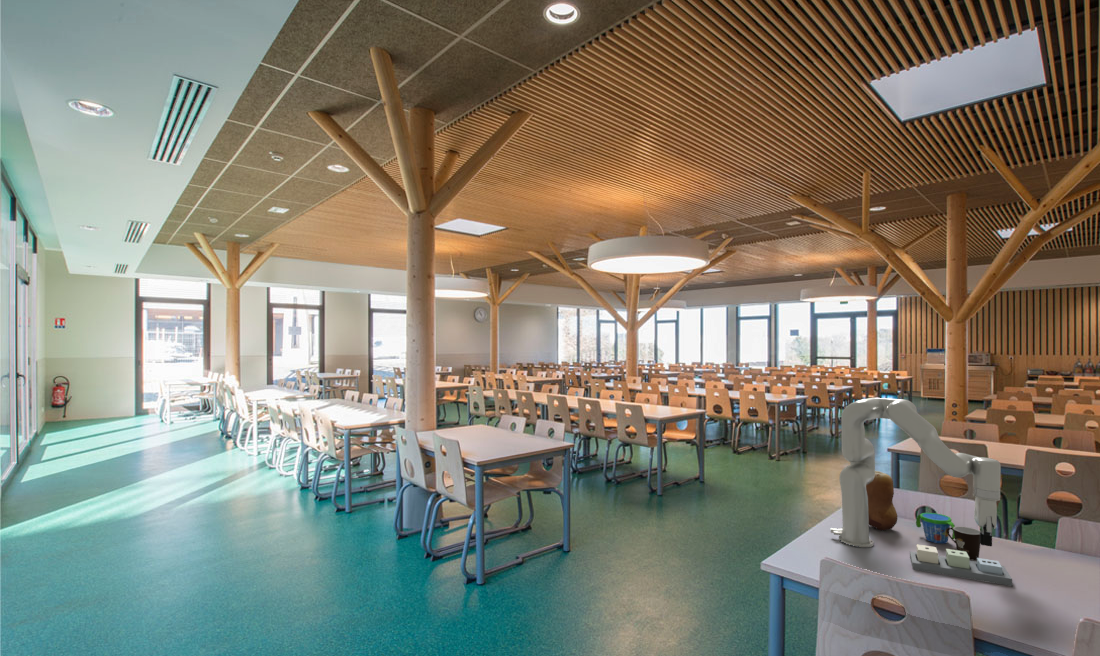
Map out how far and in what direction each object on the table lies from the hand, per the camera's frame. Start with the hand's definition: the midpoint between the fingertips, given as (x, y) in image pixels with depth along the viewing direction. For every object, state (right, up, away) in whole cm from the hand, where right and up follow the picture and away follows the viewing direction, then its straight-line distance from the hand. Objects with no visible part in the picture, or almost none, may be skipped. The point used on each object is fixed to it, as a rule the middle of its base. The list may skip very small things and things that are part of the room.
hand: (985, 544), depth 188 cm
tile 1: (-15, -9, +8) cm, 19 cm away
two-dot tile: (-7, -9, +4) cm, 12 cm away
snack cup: (+6, -12, +32) cm, 34 cm away
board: (-7, -11, +4) cm, 14 cm away
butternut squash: (-9, -12, +47) cm, 49 cm away
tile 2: (+1, -10, -1) cm, 10 cm away
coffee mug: (+7, -11, +18) cm, 22 cm away
